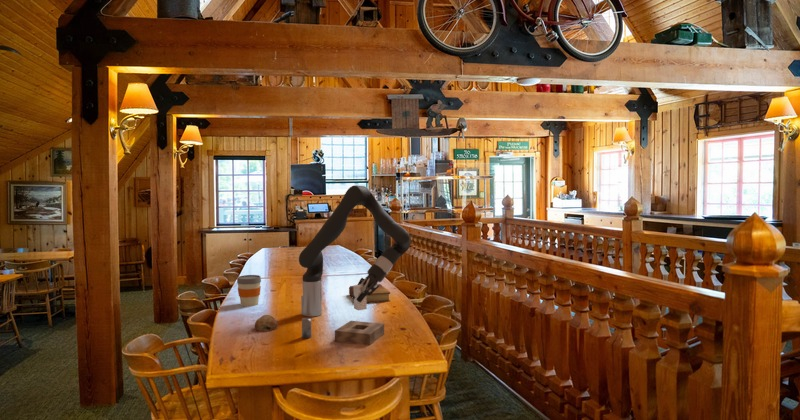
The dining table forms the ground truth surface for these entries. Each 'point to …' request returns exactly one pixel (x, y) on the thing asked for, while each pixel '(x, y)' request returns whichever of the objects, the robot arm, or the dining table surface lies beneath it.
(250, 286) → the reusable coffee cup
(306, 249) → the robot arm
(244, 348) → the dining table surface
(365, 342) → the socket block
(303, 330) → the round bit
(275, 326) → the bread roll
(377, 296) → the diary
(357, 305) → the square bit
